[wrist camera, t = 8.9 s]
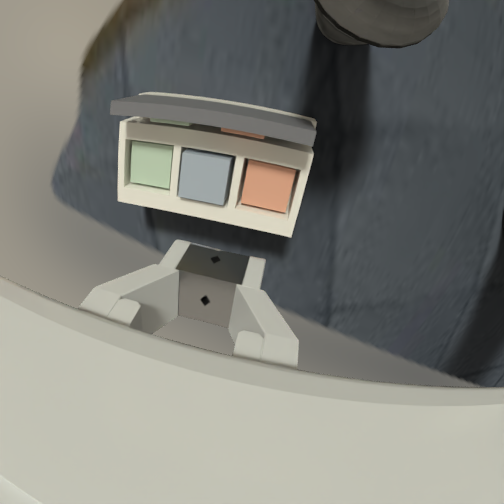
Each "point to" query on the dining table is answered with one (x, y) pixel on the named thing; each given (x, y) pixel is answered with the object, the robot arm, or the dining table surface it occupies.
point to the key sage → (151, 163)
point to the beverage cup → (379, 21)
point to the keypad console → (216, 140)
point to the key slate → (205, 175)
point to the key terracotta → (267, 185)
